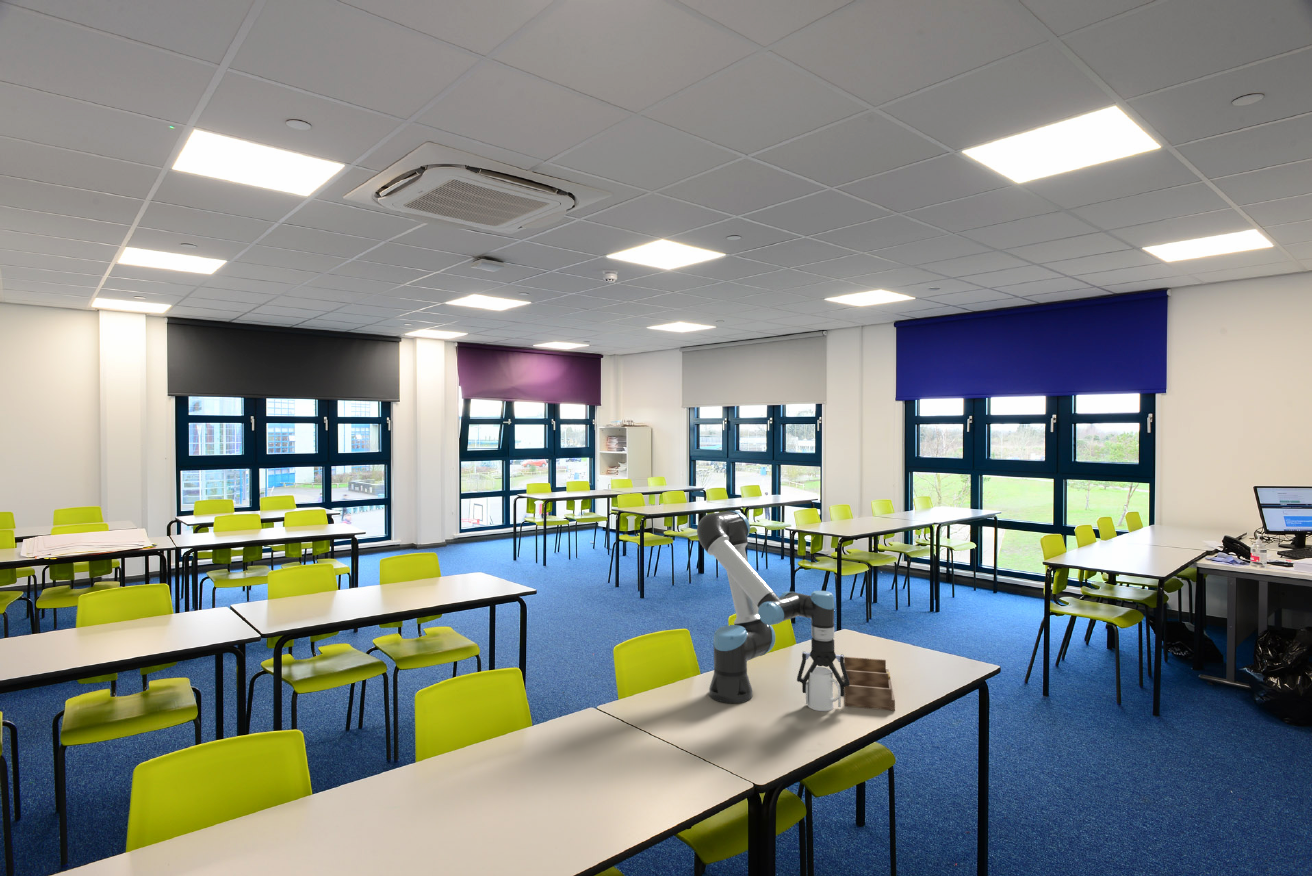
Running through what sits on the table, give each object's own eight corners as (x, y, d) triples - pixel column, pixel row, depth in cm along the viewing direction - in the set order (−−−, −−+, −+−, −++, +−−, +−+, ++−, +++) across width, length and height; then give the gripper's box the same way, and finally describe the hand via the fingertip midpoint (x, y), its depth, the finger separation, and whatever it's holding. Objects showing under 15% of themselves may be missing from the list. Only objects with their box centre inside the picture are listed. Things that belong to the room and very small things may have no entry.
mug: (846, 710, 222) (846, 674, 222) (830, 716, 217) (830, 680, 217) (818, 699, 232) (818, 664, 232) (802, 705, 226) (802, 670, 226)
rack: (845, 705, 226) (844, 685, 226) (844, 674, 255) (844, 656, 254) (895, 710, 221) (894, 689, 221) (888, 678, 250) (888, 659, 250)
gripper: (788, 638, 224) (788, 705, 224) (857, 644, 218) (858, 711, 218) (789, 632, 231) (790, 696, 231) (857, 637, 225) (857, 702, 225)
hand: (823, 703), depth 225 cm, fingers closed on mug, 10 cm apart
